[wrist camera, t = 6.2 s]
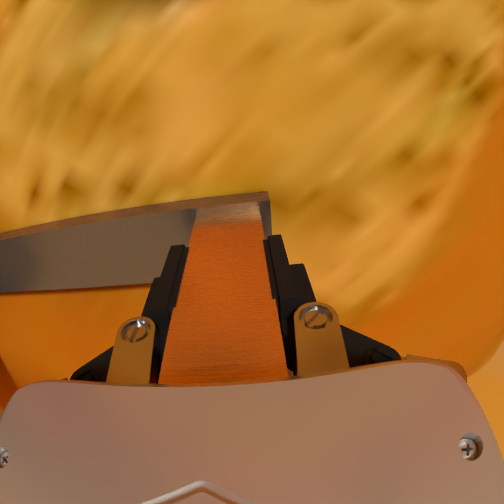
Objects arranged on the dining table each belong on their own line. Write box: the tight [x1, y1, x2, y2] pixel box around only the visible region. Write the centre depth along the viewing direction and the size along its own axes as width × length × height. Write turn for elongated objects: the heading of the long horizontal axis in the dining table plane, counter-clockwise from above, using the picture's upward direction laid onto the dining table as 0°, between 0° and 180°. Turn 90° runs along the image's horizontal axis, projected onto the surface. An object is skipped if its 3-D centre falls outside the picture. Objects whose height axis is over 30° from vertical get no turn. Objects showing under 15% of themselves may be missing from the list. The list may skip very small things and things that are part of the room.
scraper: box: [0, 191, 288, 384], centre depth 11 cm, size 24×4×11 cm, turn 95°
